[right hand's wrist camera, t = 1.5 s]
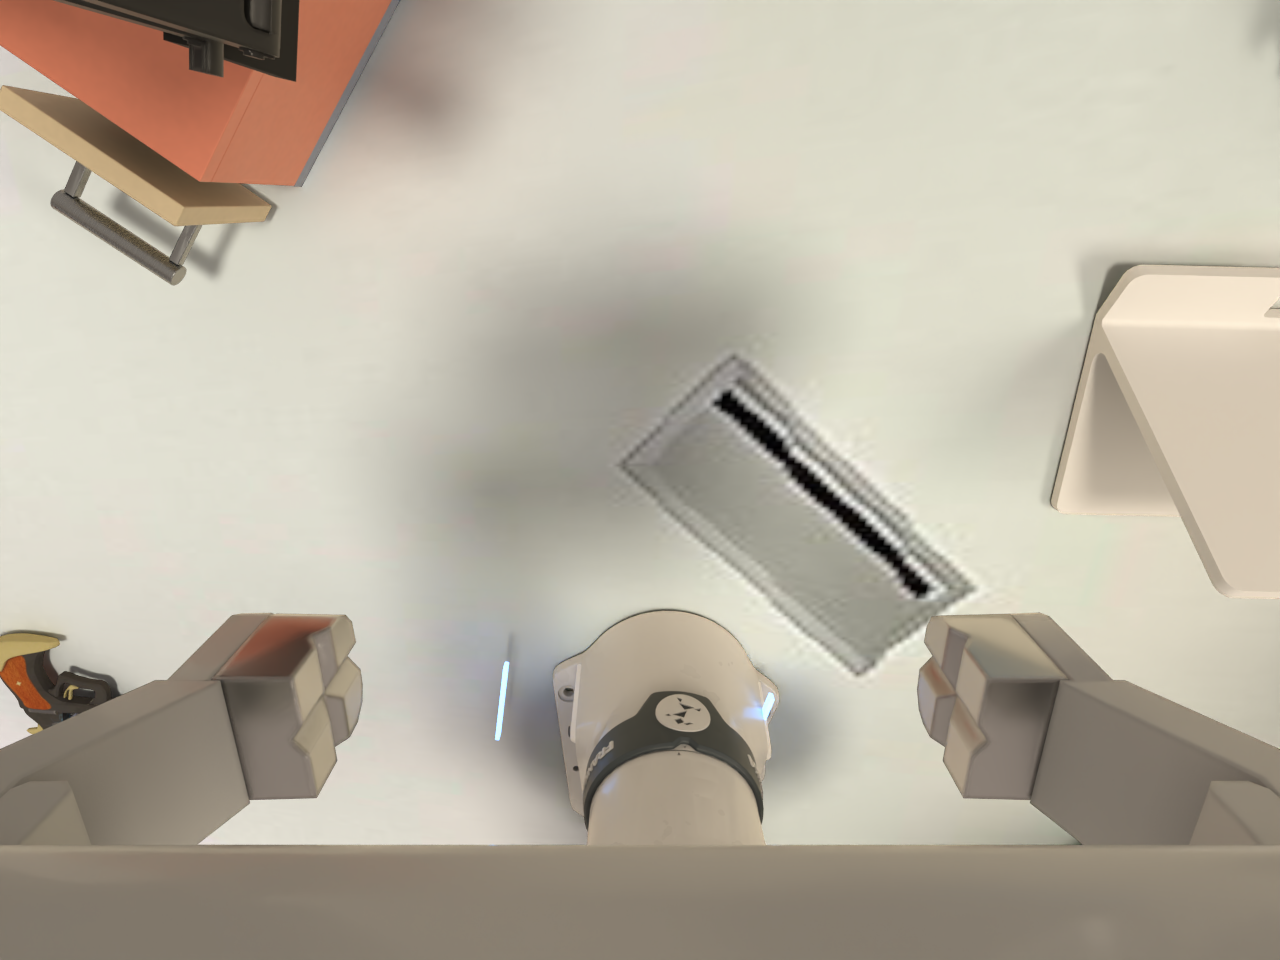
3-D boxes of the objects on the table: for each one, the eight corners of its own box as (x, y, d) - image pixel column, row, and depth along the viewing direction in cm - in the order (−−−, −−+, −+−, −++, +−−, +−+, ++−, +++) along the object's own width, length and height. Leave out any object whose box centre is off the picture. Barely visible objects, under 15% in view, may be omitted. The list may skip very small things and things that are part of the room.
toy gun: (-28, 641, 57) (-21, 752, 59) (231, 666, 59) (227, 773, 61) (-1, 625, 59) (4, 733, 62) (245, 650, 62) (241, 753, 64)
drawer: (229, 288, 49) (135, 308, 40) (91, 197, 47) (-41, 196, 38) (388, -17, 43) (319, -76, 33) (236, -137, 41) (120, -234, 31)
